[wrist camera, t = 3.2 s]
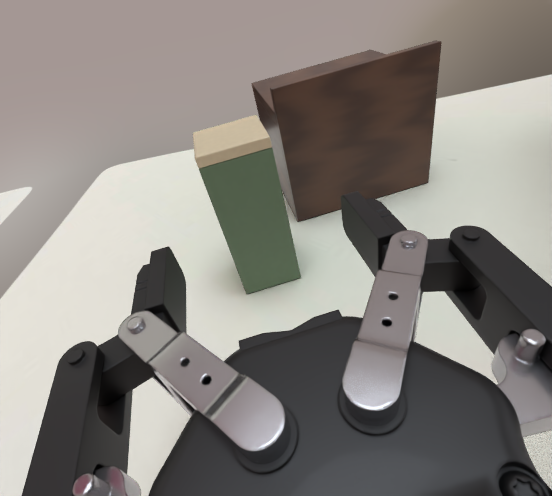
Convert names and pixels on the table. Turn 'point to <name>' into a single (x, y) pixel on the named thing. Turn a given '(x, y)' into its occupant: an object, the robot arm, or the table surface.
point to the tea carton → (248, 201)
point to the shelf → (351, 126)
